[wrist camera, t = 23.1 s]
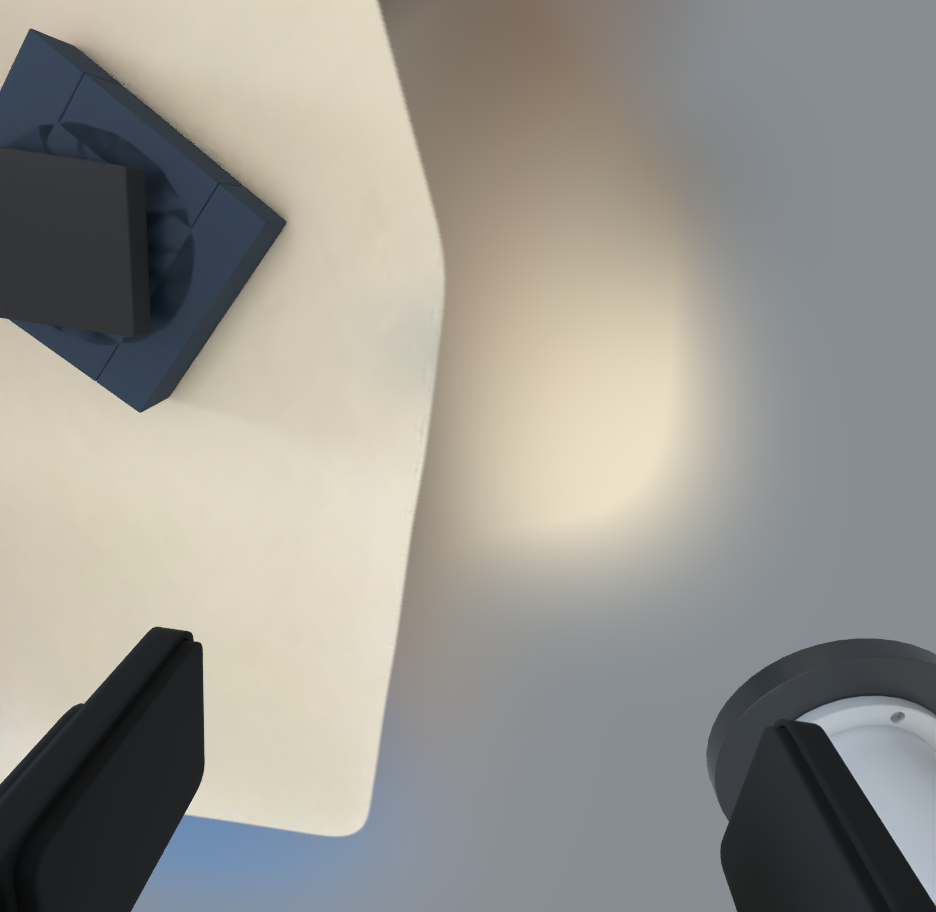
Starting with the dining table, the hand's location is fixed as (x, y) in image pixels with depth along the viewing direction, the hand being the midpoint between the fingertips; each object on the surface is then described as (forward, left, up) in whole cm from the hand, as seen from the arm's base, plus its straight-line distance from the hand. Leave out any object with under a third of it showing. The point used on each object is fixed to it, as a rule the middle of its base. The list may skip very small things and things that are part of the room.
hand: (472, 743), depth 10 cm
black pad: (+19, +6, -25) cm, 32 cm away
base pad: (+19, +6, -25) cm, 32 cm away
